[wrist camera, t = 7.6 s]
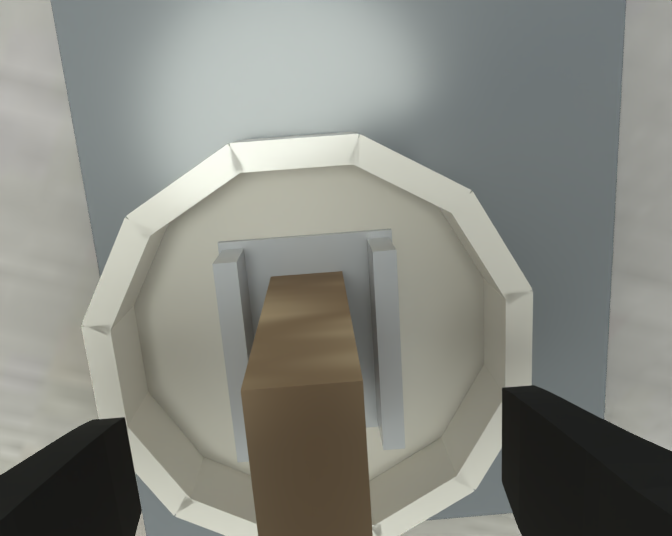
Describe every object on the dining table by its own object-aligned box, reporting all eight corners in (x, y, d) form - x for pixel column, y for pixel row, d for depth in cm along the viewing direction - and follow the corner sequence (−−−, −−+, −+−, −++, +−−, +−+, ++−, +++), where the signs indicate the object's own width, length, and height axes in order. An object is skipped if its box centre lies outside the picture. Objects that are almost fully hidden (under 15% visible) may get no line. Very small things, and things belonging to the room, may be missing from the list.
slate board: (640, -490, 13) (652, -513, 13) (592, 495, 20) (599, 505, 19) (-23, -455, 13) (-36, -478, 12) (152, 533, 20) (147, 544, 19)
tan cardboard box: (342, 271, 16) (362, 380, 9) (351, 400, 17) (375, 583, 10) (270, 276, 16) (240, 390, 9) (283, 406, 17) (264, 593, 10)
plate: (502, 120, 16) (536, 120, 14) (501, 479, 19) (529, 532, 17) (88, 150, 16) (48, 156, 13) (151, 509, 19) (127, 567, 16)
